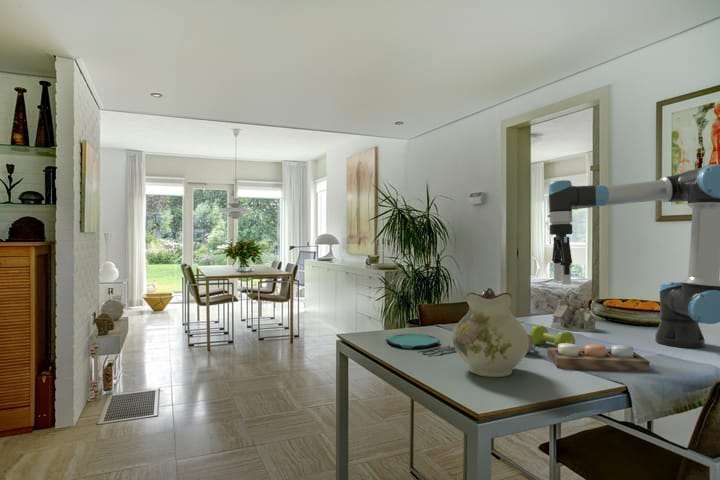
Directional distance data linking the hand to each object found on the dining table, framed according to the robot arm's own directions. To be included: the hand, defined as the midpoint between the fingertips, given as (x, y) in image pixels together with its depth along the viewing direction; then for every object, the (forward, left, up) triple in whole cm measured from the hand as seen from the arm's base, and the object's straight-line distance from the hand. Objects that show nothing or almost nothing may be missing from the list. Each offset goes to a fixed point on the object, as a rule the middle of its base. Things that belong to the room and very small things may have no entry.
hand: (562, 282), depth 160 cm
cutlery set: (+51, +1, -25) cm, 57 cm away
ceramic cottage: (-14, -41, -25) cm, 50 cm away
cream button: (+2, +17, -23) cm, 29 cm away
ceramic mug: (+15, +4, -25) cm, 29 cm away
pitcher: (+28, +30, -25) cm, 48 cm away
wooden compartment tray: (-6, +17, -24) cm, 30 cm away
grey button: (-14, +17, -23) cm, 32 cm away
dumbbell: (+3, -3, -25) cm, 25 cm away
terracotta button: (-6, +17, -23) cm, 29 cm away
